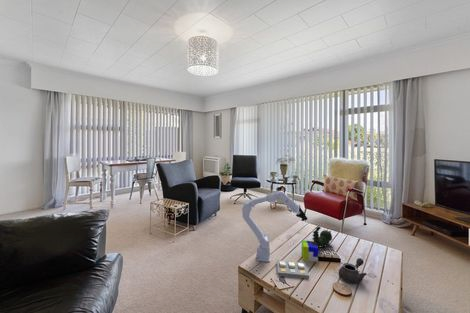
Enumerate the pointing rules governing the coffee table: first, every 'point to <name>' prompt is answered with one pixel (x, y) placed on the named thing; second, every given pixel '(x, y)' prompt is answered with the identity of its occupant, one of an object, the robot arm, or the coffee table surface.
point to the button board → (292, 270)
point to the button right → (300, 265)
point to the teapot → (352, 272)
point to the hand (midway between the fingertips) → (305, 217)
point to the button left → (282, 264)
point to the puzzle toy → (309, 250)
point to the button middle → (291, 265)
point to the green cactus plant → (322, 237)
